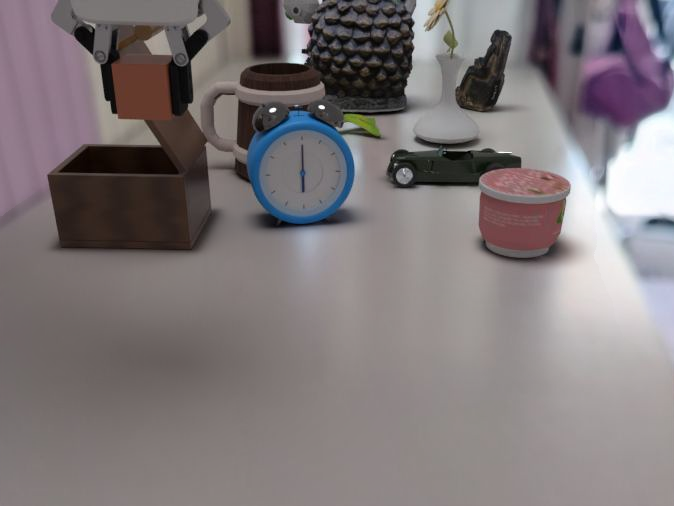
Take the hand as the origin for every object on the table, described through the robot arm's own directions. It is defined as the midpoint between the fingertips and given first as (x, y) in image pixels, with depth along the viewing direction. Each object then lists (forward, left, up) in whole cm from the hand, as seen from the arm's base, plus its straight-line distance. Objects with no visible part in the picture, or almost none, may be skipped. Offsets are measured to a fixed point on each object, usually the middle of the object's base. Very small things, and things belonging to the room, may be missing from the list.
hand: (150, 108), depth 68 cm
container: (+36, +23, -21) cm, 48 cm away
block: (0, 0, 0) cm, 0 cm away
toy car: (+30, +48, -21) cm, 61 cm away
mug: (+2, +51, -21) cm, 55 cm away
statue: (+38, +93, -21) cm, 103 cm away
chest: (-11, +26, -21) cm, 35 cm away
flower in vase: (+30, +69, -21) cm, 78 cm away
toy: (+9, +73, -21) cm, 76 cm away
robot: (+8, +120, -21) cm, 122 cm away
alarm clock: (+9, +31, -21) cm, 39 cm away
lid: (-7, +26, -5) cm, 27 cm away
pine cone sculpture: (+15, +92, -21) cm, 95 cm away
